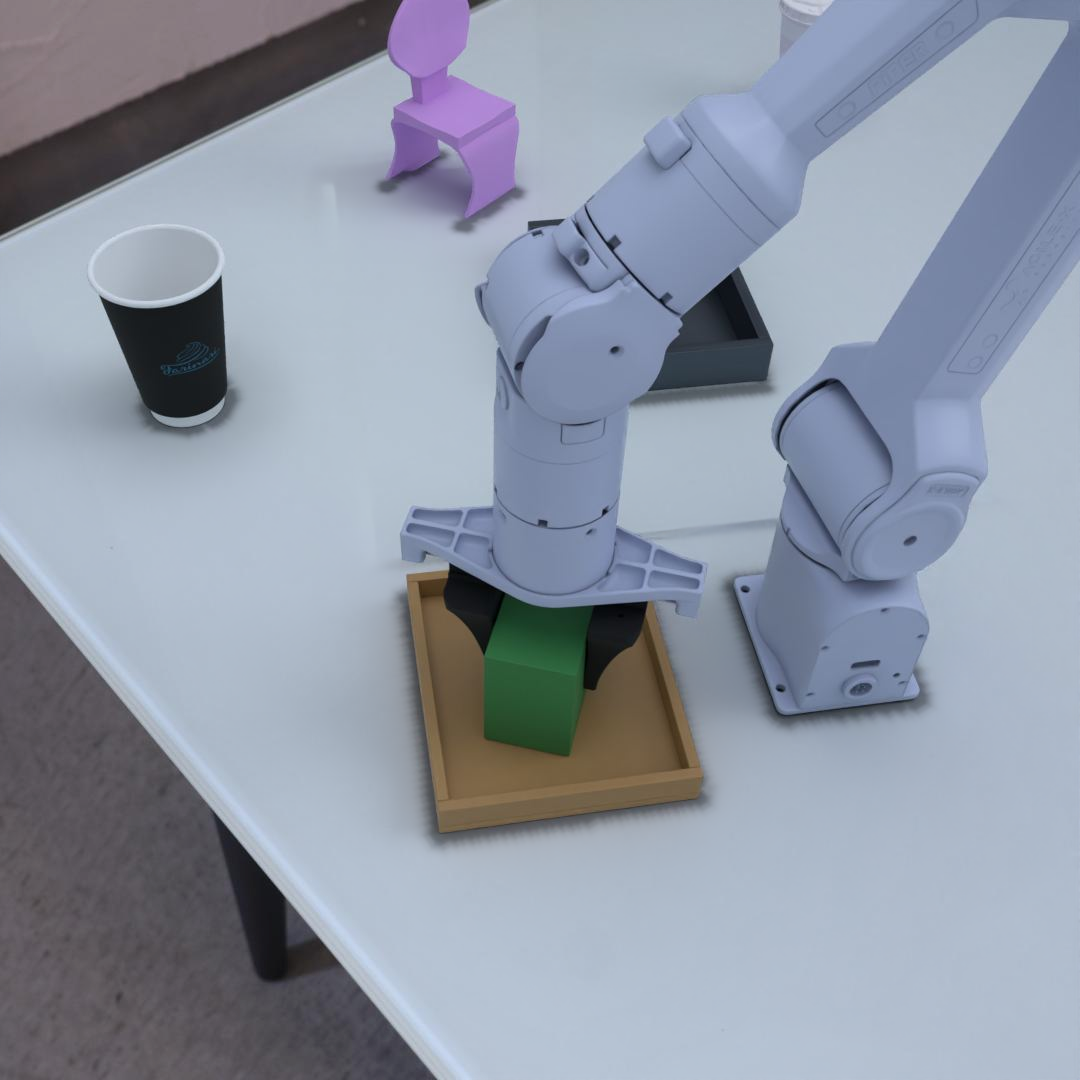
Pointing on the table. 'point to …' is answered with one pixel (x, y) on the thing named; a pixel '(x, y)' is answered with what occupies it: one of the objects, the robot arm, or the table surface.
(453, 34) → the toy chair
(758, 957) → the table surface
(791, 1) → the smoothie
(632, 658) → the tray
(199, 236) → the dixie cup
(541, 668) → the green rectangular block
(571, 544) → the robot arm
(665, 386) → the dark grey tray
